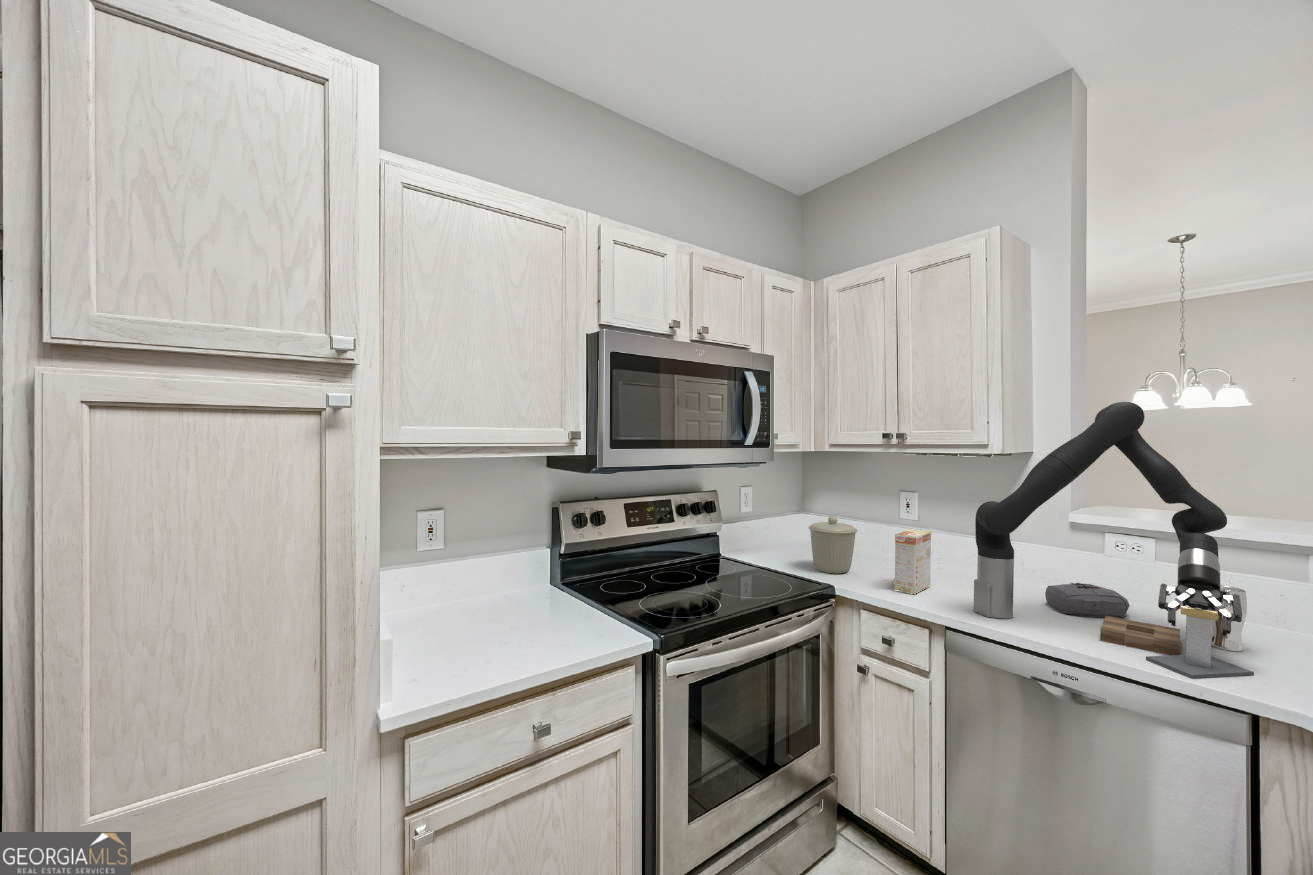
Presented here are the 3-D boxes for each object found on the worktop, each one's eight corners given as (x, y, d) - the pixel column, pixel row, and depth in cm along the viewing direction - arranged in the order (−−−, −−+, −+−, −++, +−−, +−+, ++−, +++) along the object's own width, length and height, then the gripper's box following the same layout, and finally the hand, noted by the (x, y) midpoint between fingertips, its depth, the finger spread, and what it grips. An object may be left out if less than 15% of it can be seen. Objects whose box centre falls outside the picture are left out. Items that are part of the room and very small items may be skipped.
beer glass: (1198, 641, 142) (1200, 584, 142) (1222, 641, 143) (1224, 584, 143) (1228, 652, 135) (1230, 592, 135) (1254, 652, 136) (1255, 592, 136)
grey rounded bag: (1066, 617, 160) (1142, 622, 158) (1067, 589, 160) (1143, 593, 157) (1038, 602, 175) (1107, 605, 172) (1039, 576, 175) (1108, 579, 172)
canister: (798, 569, 213) (799, 515, 213) (824, 562, 225) (825, 511, 224) (840, 579, 199) (841, 521, 199) (865, 571, 211) (866, 517, 211)
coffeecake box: (910, 582, 196) (911, 528, 196) (931, 586, 191) (932, 531, 191) (893, 590, 185) (894, 533, 185) (915, 595, 180) (916, 536, 180)
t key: (1215, 664, 126) (1216, 610, 126) (1216, 670, 123) (1218, 614, 123) (1179, 657, 130) (1180, 604, 130) (1179, 662, 127) (1181, 608, 127)
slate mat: (1192, 678, 120) (1192, 674, 120) (1145, 659, 130) (1145, 656, 130) (1253, 675, 123) (1253, 671, 123) (1203, 657, 132) (1203, 653, 132)
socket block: (1179, 657, 132) (1180, 644, 132) (1100, 640, 142) (1100, 628, 142) (1179, 640, 143) (1179, 629, 143) (1105, 626, 153) (1105, 615, 153)
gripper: (1159, 558, 140) (1157, 613, 131) (1241, 568, 130) (1244, 628, 122) (1160, 574, 143) (1157, 629, 135) (1239, 586, 134) (1241, 645, 125)
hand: (1198, 628), depth 128 cm, fingers open, 8 cm apart
